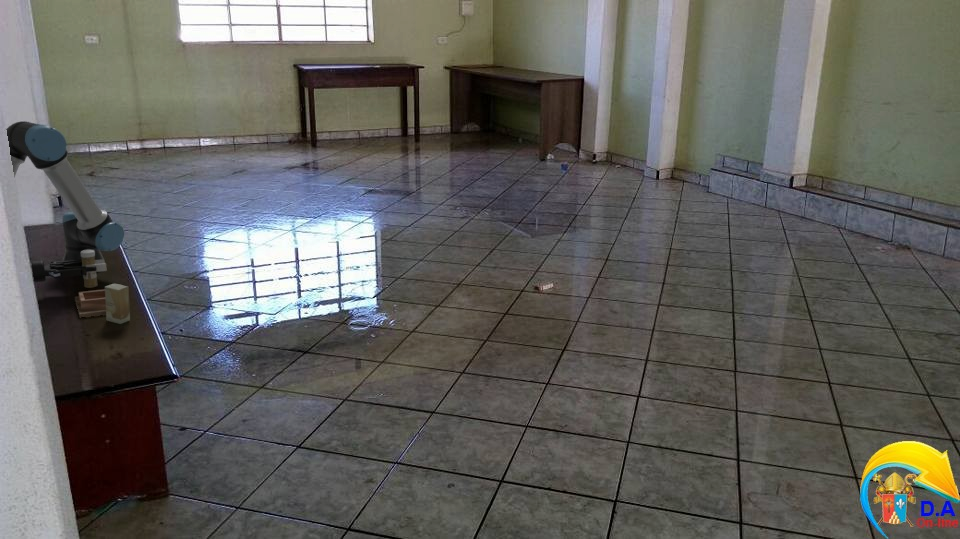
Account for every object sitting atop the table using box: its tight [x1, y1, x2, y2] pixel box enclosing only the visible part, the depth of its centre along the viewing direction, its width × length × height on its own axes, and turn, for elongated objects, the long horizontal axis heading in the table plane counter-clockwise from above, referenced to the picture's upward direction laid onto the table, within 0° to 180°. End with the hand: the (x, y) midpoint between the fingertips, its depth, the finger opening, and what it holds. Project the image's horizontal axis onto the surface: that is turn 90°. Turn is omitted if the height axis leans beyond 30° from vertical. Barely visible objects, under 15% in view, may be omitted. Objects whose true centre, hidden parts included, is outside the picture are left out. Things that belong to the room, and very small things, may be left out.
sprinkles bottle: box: [81, 250, 99, 288], centre depth 270 cm, size 5×5×14 cm
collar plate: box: [74, 288, 106, 319], centre depth 257 cm, size 18×12×4 cm, turn 32°
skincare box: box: [104, 283, 131, 325], centre depth 246 cm, size 6×4×12 cm
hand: (105, 264), depth 272 cm, fingers closed on sprinkles bottle, 4 cm apart
